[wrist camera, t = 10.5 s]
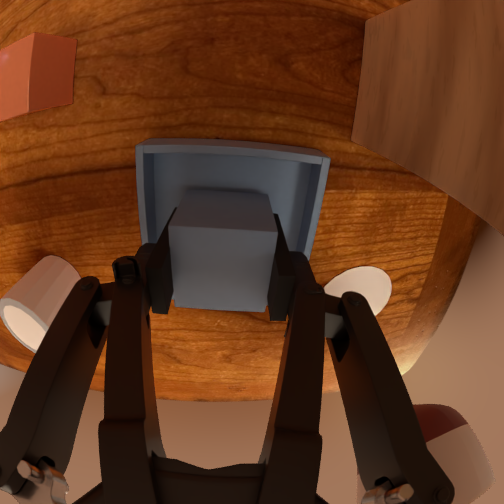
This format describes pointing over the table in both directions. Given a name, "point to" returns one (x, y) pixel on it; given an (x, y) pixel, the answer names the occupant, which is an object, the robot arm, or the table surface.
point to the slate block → (222, 250)
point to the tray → (232, 181)
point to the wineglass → (427, 405)
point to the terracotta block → (36, 74)
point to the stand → (438, 97)
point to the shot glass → (37, 300)
